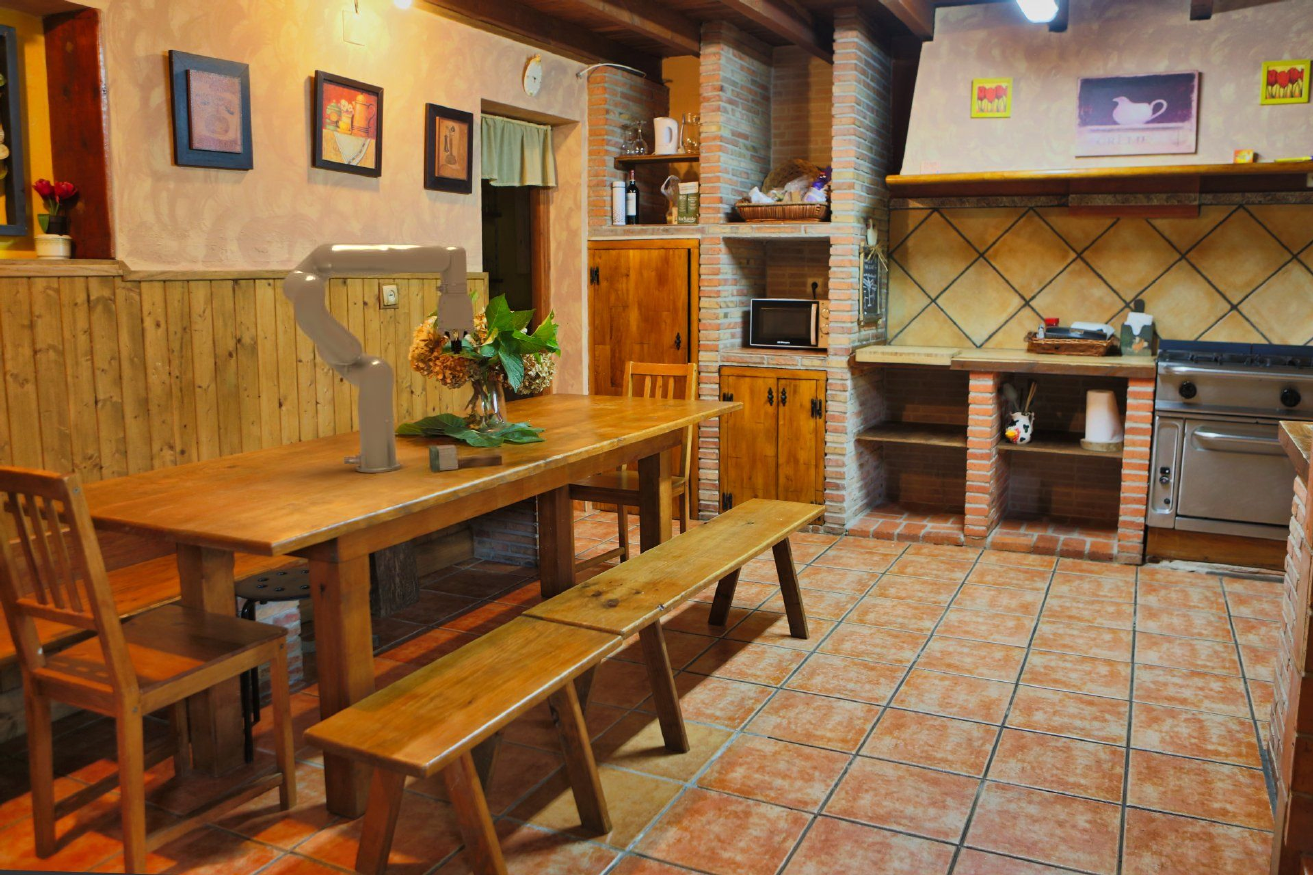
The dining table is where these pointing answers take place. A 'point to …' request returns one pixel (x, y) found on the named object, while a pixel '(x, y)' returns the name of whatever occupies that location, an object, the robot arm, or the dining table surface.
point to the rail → (464, 460)
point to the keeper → (447, 457)
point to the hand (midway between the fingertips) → (456, 353)
